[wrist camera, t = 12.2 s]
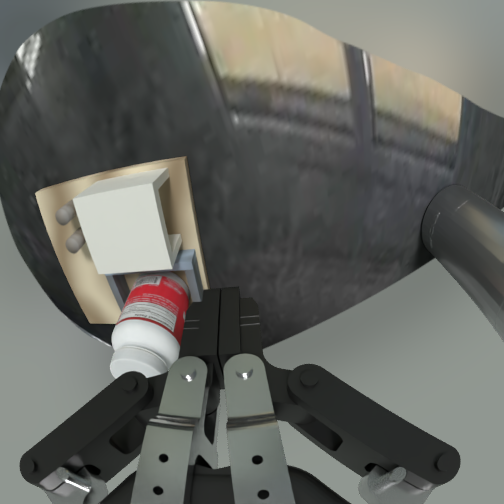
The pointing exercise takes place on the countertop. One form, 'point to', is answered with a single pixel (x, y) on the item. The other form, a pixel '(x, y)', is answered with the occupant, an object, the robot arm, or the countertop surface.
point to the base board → (120, 284)
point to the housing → (127, 223)
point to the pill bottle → (150, 325)
